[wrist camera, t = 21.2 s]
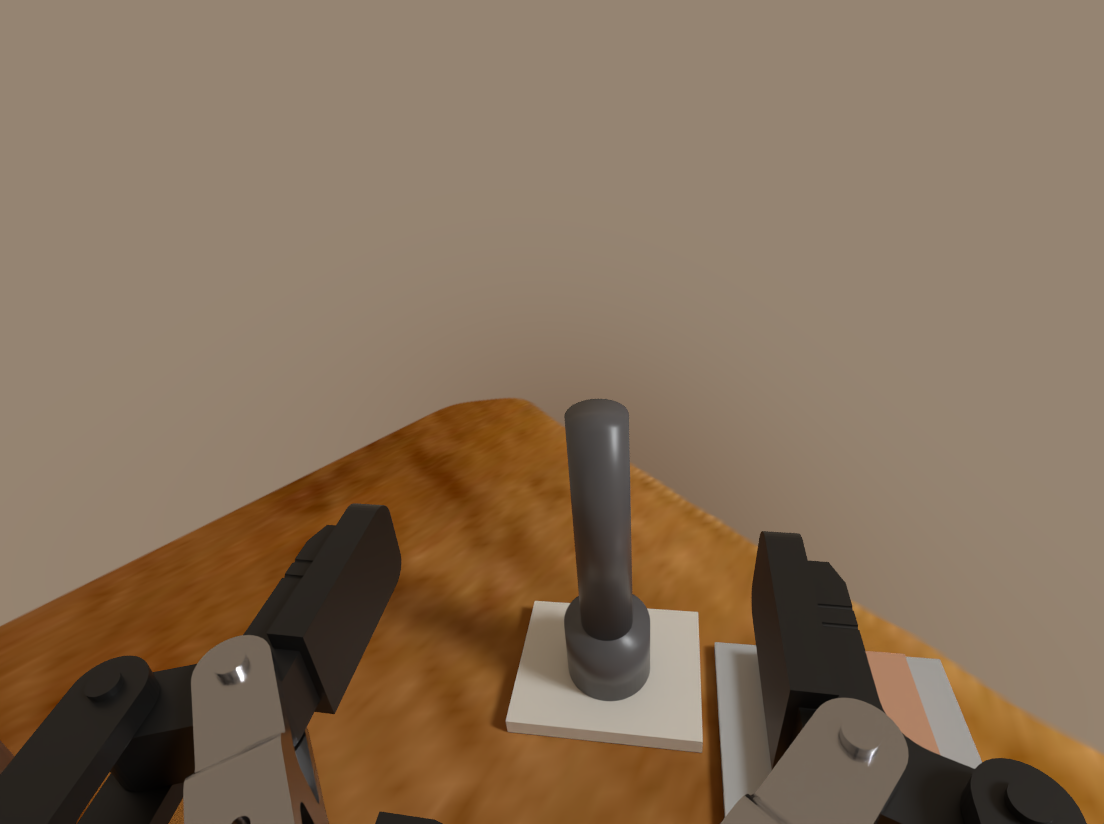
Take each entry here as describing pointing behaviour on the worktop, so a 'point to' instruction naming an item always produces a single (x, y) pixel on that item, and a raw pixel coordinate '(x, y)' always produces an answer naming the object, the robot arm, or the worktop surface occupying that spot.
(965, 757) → the mat
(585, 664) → the grey pestle
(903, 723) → the tile
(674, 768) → the worktop surface
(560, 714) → the board
